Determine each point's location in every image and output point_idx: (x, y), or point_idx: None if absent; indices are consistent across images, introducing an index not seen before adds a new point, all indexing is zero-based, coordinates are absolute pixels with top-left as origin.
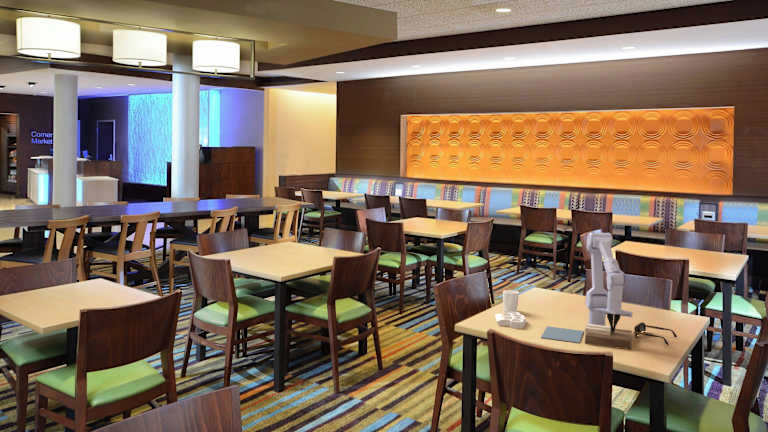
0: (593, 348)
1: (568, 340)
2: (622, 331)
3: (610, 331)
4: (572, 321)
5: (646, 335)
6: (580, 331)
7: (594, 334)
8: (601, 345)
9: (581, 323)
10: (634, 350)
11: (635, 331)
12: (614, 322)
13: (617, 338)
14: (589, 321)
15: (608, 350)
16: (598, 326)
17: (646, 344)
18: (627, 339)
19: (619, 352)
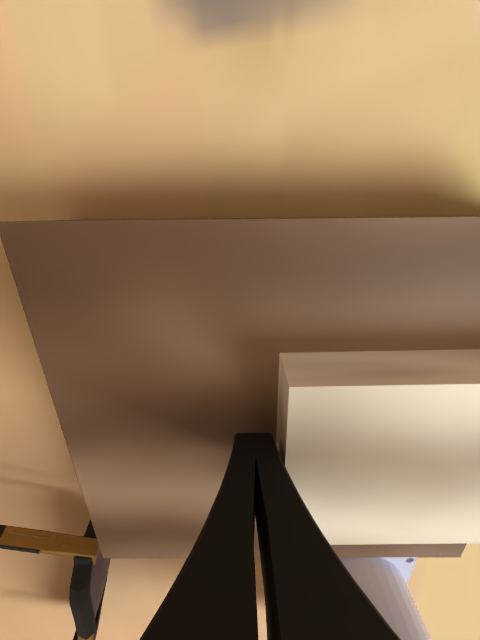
0: (446, 50)
1: None
2: (170, 517)
3: None
4: (471, 623)
5: (2, 526)
6: None
7: (468, 312)
8: (344, 217)
9: (425, 613)
10: (31, 208)
11: (82, 559)
12: (238, 577)
13: (184, 270)
14: (425, 627)
15: (275, 55)
16: (428, 501)
17: (5, 418)
18: (63, 284)
19: (150, 32)
